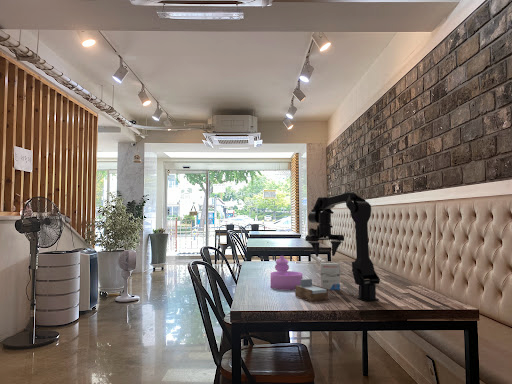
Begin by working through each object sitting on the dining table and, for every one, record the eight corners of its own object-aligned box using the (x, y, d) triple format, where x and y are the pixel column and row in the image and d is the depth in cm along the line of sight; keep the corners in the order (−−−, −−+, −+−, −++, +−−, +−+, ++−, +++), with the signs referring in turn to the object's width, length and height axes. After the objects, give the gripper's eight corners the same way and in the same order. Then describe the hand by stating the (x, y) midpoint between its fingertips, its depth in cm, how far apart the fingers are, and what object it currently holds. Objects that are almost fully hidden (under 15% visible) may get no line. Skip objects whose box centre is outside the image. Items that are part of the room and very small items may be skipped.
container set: (305, 289, 174) (305, 260, 174) (272, 290, 172) (272, 261, 173) (295, 280, 198) (295, 255, 199) (266, 280, 197) (266, 255, 198)
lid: (326, 292, 152) (326, 282, 152) (312, 293, 149) (312, 283, 149) (311, 288, 161) (311, 278, 161) (298, 289, 158) (298, 279, 158)
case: (328, 299, 152) (328, 288, 152) (311, 301, 148) (311, 290, 148) (311, 294, 162) (311, 284, 163) (295, 296, 159) (295, 285, 159)
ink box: (338, 288, 177) (338, 262, 178) (340, 290, 172) (339, 264, 173) (320, 287, 178) (320, 262, 179) (321, 289, 173) (320, 263, 174)
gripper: (330, 223, 191) (331, 254, 190) (299, 223, 183) (299, 255, 182) (344, 223, 181) (345, 256, 180) (311, 223, 173) (312, 257, 172)
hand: (325, 256), depth 179 cm, fingers open, 9 cm apart
